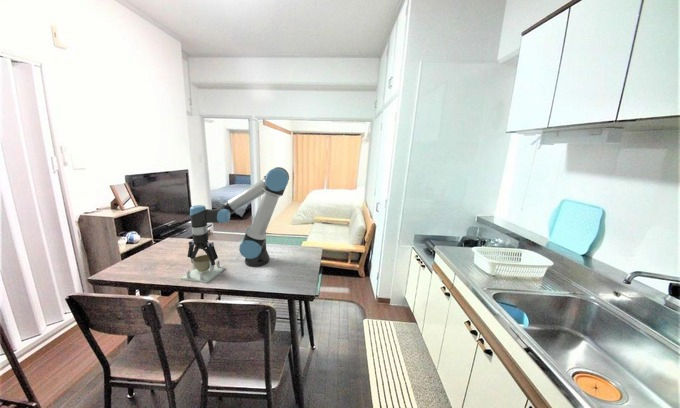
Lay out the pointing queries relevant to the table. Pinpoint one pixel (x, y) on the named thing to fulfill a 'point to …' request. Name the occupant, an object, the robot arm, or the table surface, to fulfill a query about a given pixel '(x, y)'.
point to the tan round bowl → (201, 263)
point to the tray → (203, 274)
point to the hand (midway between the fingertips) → (203, 269)
